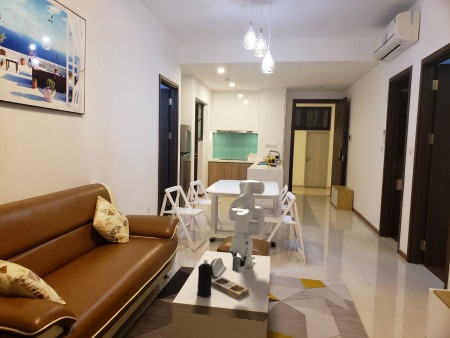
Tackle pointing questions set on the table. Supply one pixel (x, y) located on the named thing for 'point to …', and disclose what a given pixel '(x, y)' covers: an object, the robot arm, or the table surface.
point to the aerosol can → (204, 280)
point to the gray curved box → (217, 267)
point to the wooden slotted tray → (230, 287)
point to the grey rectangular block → (237, 264)
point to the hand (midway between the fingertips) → (238, 264)
